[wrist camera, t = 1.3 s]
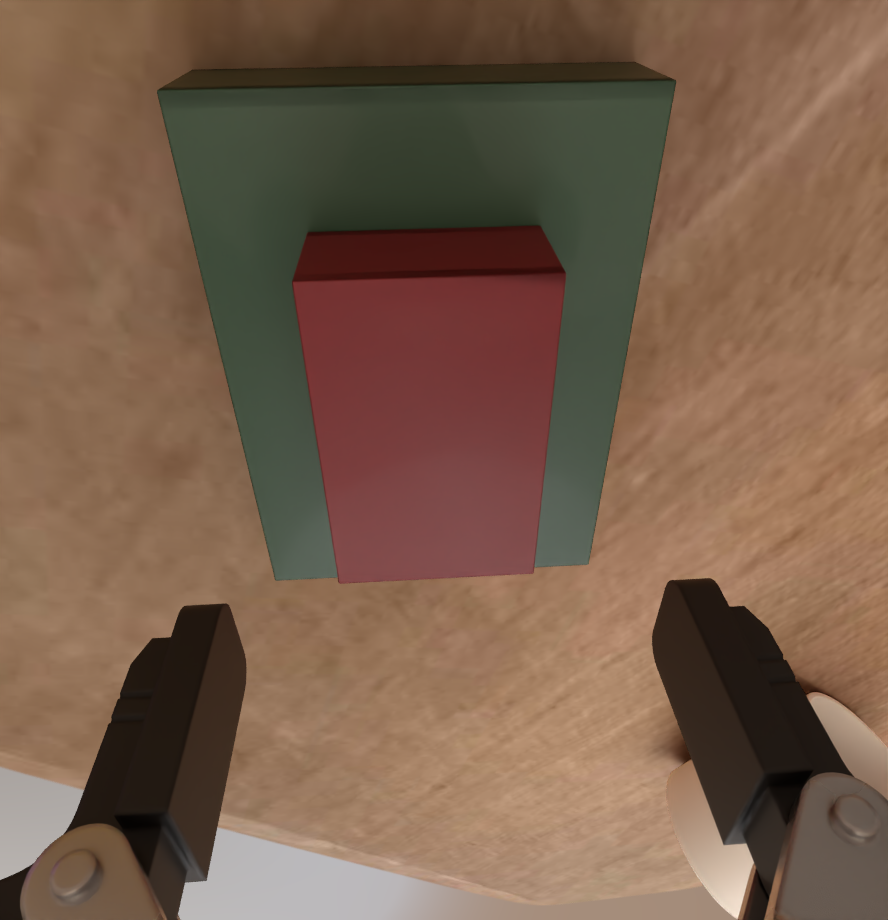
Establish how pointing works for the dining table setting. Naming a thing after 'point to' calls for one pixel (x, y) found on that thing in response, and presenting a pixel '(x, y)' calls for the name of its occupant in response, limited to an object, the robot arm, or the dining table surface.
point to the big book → (416, 207)
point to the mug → (732, 864)
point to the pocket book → (431, 394)
